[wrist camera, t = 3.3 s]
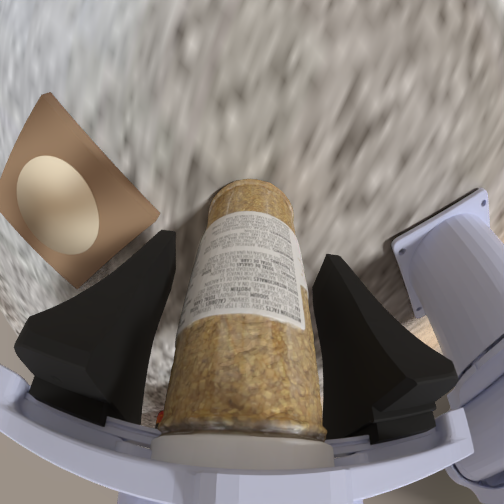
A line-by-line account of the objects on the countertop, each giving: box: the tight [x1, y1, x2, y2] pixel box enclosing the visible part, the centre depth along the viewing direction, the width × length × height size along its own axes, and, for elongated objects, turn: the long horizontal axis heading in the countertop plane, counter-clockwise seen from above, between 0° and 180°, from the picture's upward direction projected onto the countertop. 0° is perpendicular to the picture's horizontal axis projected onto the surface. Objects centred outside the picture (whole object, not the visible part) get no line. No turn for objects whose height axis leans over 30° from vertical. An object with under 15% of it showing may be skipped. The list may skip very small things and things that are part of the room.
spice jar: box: [150, 179, 335, 470], centre depth 9 cm, size 5×5×14 cm
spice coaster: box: [0, 92, 160, 289], centre depth 14 cm, size 10×10×1 cm
